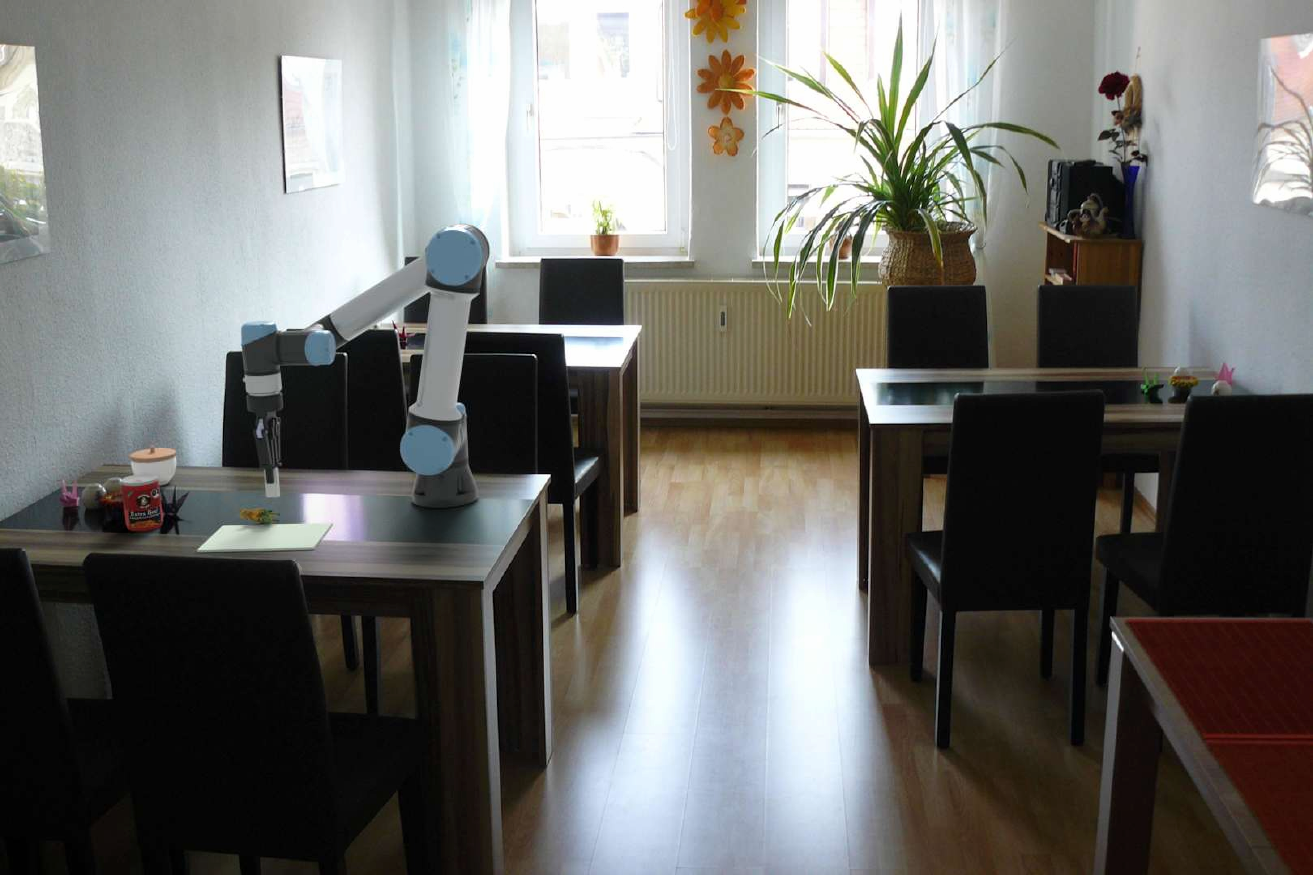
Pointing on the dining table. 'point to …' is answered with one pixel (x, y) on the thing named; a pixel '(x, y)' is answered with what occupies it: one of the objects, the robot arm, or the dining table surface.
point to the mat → (266, 537)
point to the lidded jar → (155, 463)
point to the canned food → (142, 502)
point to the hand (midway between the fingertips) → (273, 496)
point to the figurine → (259, 515)
